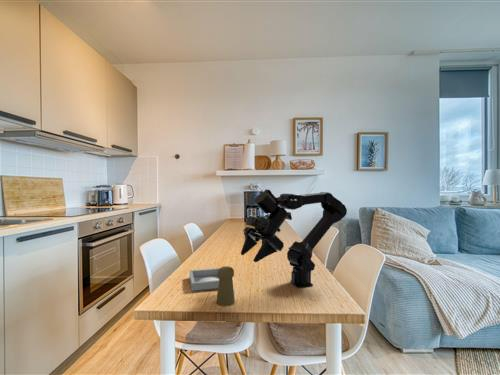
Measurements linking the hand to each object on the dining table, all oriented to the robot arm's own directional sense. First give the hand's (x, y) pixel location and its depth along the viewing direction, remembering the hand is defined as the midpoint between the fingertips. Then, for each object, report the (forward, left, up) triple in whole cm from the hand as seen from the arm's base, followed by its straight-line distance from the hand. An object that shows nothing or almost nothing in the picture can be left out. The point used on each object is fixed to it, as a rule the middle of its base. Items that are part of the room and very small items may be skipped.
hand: (247, 257), depth 84 cm
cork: (+8, +2, -13) cm, 15 cm away
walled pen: (+11, -15, -13) cm, 23 cm away
